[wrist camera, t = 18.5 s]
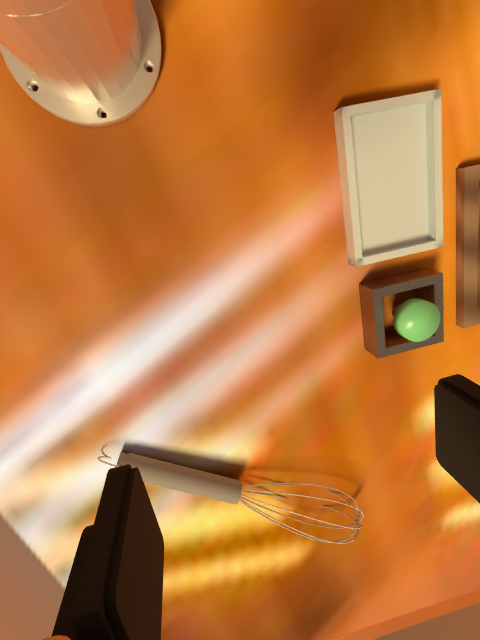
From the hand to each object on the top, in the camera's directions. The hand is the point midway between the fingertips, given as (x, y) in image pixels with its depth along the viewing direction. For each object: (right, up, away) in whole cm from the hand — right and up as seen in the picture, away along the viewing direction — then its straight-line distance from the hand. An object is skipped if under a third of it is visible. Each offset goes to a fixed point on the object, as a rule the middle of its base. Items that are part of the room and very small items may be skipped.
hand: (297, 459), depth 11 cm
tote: (+14, +18, +27) cm, 35 cm away
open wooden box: (+16, +5, +31) cm, 36 cm away
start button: (+16, +5, +30) cm, 35 cm away
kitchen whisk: (-2, -16, +35) cm, 39 cm away
